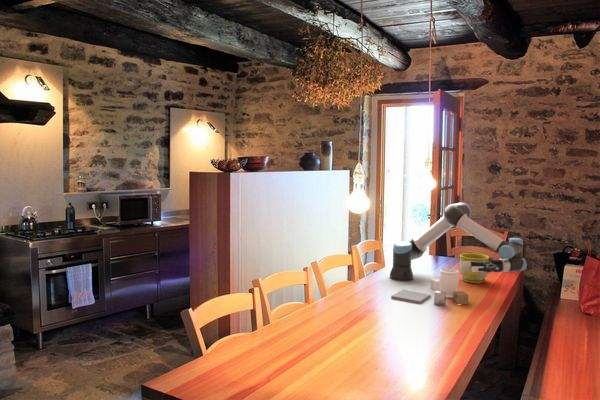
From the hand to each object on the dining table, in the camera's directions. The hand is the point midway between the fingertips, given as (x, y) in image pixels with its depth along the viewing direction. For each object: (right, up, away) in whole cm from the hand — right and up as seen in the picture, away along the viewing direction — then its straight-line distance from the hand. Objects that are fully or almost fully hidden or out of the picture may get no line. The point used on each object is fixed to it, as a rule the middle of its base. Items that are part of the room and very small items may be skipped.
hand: (466, 266), depth 289 cm
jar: (-10, -17, 0) cm, 20 cm away
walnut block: (-8, -18, -13) cm, 24 cm away
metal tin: (-20, -18, -16) cm, 31 cm away
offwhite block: (-13, -16, +14) cm, 25 cm away
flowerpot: (+16, -14, +35) cm, 41 cm away
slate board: (-33, -17, -4) cm, 37 cm away
